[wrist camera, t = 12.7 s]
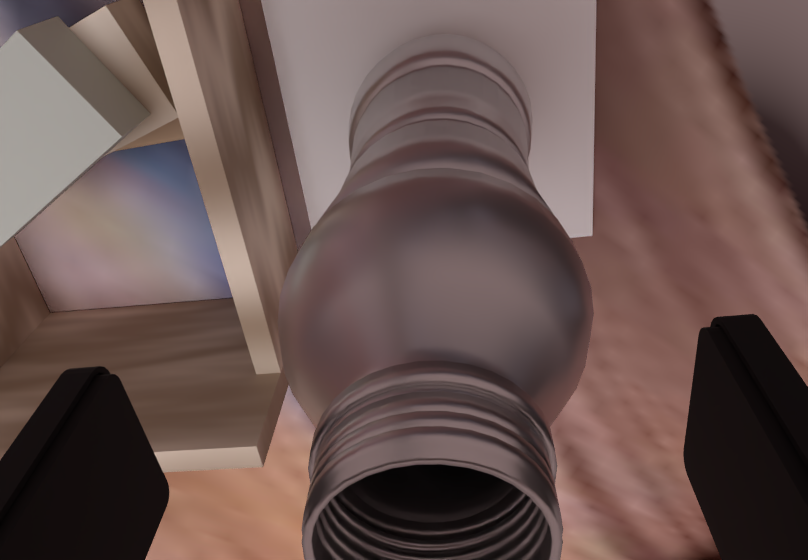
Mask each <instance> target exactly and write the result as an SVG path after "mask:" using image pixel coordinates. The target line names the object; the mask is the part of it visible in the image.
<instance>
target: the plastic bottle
mask: <svg viewBox="0 0 808 560" xmlns="http://www.w3.org/2000/svg"><path fill="white" fill-rule="evenodd" d="M532 123H533V117H532V109H531V101H530V98H529V95H528V93H527V90H526V87H525V84H524V82H523V81H522V79H521V77H520V76H519V74H518V73H517V71H516V69H515V68H514V67H513V66H512V65H511V64H510V63H509V62H508V61H507V60H506V59H505V58H504V57H503V56H502V55H501V54H499V53H498V52H496V51H495V50H493V49H492V48H490V47H489V46H487V45H486V44H484V43H482V42H480V41H477V40H474V39H472V38H469V37H467V36H461V35H455V34H434V35H429V36H425V37H421V38H417V39H414V40H412V41H410V42H408V43H406V44H404V45H402V46H400V47H398V48H397V49H395V50H393V51H392V52H391V53H390V54H388V55H387V56H386V57H384V58H383V59H382V60H380V61H379V62H378V63H377V64H376V66H375V67H374V68H373V69H372V70H371V71H370V72H369V74H368V75H367V76H366V77H365V79H364V81H363V83H362V84H361V86H360V88H359V89H358V91H357V93H356V96H355V99H354V102H353V105H352V108H351V113H350V121H349V138H348V141H349V155H350V161H351V164H350V171H349V174H348V176H347V177H346V179H345V182H344V184H343V186H342V188H341V190H340V192H339V194H338V195H337V196H336V198H335V199H334V200H333V202H332V203H331V204H330V206H329V207H328V208H327V210H326V211H325V212H324V214H323V215H322V216H321V218H320V219H319V220H318V222H317V224H316V225H315V226H314V227H313V228H312V230H311V231H310V233H309V235H308V236H307V238H306V240H305V241H304V243H303V245H302V246H301V248H300V250H299V251H298V253H297V255H296V257H295V259H294V261H293V263H292V265H291V266H290V268H289V270H288V273H287V276H286V279H285V282H284V285H283V288H282V291H281V294H280V300H279V312H278V330H279V339H280V349H281V355H282V362H283V369H284V373H285V376H286V378H287V381H288V383H289V386H290V388H291V391H292V393H293V395H294V397H295V398H296V400H297V401H298V403H299V404H300V406H301V407H302V409H303V410H304V412H305V413H306V414H307V416H308V417H309V419H310V420H311V422H312V423H313V425H314V426H315V428H316V430H315V433H314V437H313V442H312V447H311V451H310V459H309V466H308V470H309V477H310V487H309V492H308V497H307V502H306V506H305V510H304V516H303V524H302V535H303V537H302V547H303V553H304V559H305V560H560V557H561V550H562V544H563V541H562V533H563V526H562V519H561V513H560V508H559V503H558V499H557V493H556V488H555V479H556V471H557V462H556V455H555V448H554V444H553V439H552V434H551V429H550V426H551V425H552V423H553V422H554V421H555V419H556V418H557V416H558V415H559V414H560V412H561V411H562V409H563V408H564V406H565V405H566V403H567V402H568V400H569V399H570V397H571V396H572V394H573V393H574V391H575V390H576V388H577V385H578V383H579V380H580V378H581V375H582V373H583V370H584V368H585V364H586V359H587V353H588V347H589V342H590V335H591V328H592V321H593V314H594V312H593V302H592V291H591V285H590V283H589V280H588V277H587V274H586V271H585V269H584V266H583V263H582V260H581V259H580V257H579V255H578V253H577V251H576V249H575V246H574V244H573V242H572V240H571V239H570V237H569V236H568V234H567V233H566V231H565V229H564V228H563V226H562V225H561V223H560V222H559V220H558V219H557V218H556V217H555V215H554V214H553V212H552V211H551V209H550V208H549V207H548V205H547V204H546V202H545V201H544V199H543V198H542V197H541V195H540V194H539V192H538V191H537V189H536V186H535V184H534V181H533V179H532V176H531V174H530V171H529V164H528V157H529V153H530V150H531V138H532Z"/></svg>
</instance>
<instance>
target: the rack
mask: <svg viewBox="0 0 808 560" xmlns="http://www.w3.org/2000/svg"><path fill="white" fill-rule="evenodd" d="M143 3H144V6H145V9H146V13H147V16H148V19H149V23H150V26H151V29H152V32H153V36H154V39H155V42H156V46H157V49H158V52H159V56H160V59H161V62H162V65H163V69H164V72H165V75H166V79H167V82H168V85H169V88H170V92H171V95H172V98H173V102H174V105H175V108H176V112H177V115H178V118H179V121H180V125H181V128H182V131H183V135H184V138H185V141H186V145H187V148H188V151H189V154H190V158H191V161H192V164H193V168H194V171H195V174H196V178H197V181H198V184H199V187H200V191H201V194H202V197H203V201H204V204H205V207H206V210H207V214H208V217H209V220H210V224H211V227H212V230H213V234H214V237H215V240H216V243H217V247H218V250H219V253H220V257H221V260H222V263H223V267H224V270H225V273H226V276H227V280H228V283H229V286H230V290H231V293H232V296H233V298H228V299H216V300H203V301H191V302H179V303H167V304H154V305H142V306H130V307H117V308H105V309H93V310H80V311H68V312H56V313H50V312H49V310H48V308H47V306H46V304H45V302H44V299H43V297H42V295H41V293H40V291H39V289H38V287H37V285H36V283H35V280H34V278H33V276H32V274H31V272H30V270H29V268H28V266H27V264H26V261H25V259H24V257H23V255H22V253H21V251H20V249H19V247H18V245H17V242H16V240H15V238H14V237H13V238H12V239H10V240H9V241H8V242H7V243H5V244H4V245H3V246H2V247H1V248H0V460H1V458H2V457H3V455H4V454H5V453H6V451H7V450H8V448H9V447H10V446H11V444H12V443H13V441H14V440H15V439H16V437H17V436H18V434H19V433H20V431H21V430H22V429H23V427H24V426H25V424H26V423H27V422H28V420H29V419H30V417H31V416H32V415H33V413H34V412H35V410H36V409H37V407H38V406H39V405H40V403H41V402H42V400H43V399H44V398H45V396H46V395H47V393H48V392H49V391H50V389H51V388H52V386H53V385H54V384H55V382H56V381H57V379H58V378H59V376H60V375H61V374H62V373H63V372H64V371H65V370H67V369H70V368H83V367H95V366H102V367H105V368H106V369H108V370H109V372H110V374H116V375H117V376H118V377H119V378H120V380H121V382H122V384H123V386H124V389H125V391H126V393H127V395H128V397H129V399H130V402H131V404H132V406H133V408H134V410H135V412H136V415H137V417H138V419H139V421H140V423H141V425H142V428H143V430H144V432H145V434H146V436H147V438H148V441H149V443H150V445H151V447H152V449H153V451H154V454H155V456H156V458H157V460H158V462H159V464H160V467H161V469H162V471H163V472H178V471H197V470H216V469H235V468H254V467H263V466H264V462H265V459H266V456H267V453H268V450H269V446H270V443H271V440H272V437H273V433H274V430H275V427H276V424H277V420H278V417H279V414H280V411H281V407H282V404H283V401H284V398H285V394H286V391H287V388H288V385H289V383H288V381H287V378H286V376H285V373H284V369H283V362H282V355H281V349H280V339H279V330H278V312H279V300H280V294H281V291H282V288H283V285H284V282H285V279H286V276H287V273H288V270H289V268H290V266H291V265H292V263H293V261H294V259H295V257H296V255H297V253H298V250H297V246H296V242H295V237H294V233H293V229H292V225H291V220H290V216H289V212H288V208H287V203H286V199H285V195H284V191H283V186H282V182H281V178H280V174H279V169H278V165H277V161H276V157H275V152H274V148H273V144H272V140H271V135H270V131H269V127H268V123H267V119H266V114H265V110H264V106H263V102H262V97H261V93H260V89H259V85H258V80H257V76H256V72H255V68H254V63H253V59H252V55H251V51H250V46H249V42H248V38H247V34H246V29H245V25H244V21H243V17H242V12H241V8H240V4H239V0H143Z"/></svg>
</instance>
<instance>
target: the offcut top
mask: <svg viewBox="0 0 808 560" xmlns="http://www.w3.org/2000/svg"><path fill="white" fill-rule="evenodd" d="M149 115H150V113H149V111H148V110H147V109H146V108H145V107H144V106H143V105H142V104H141V103H140V102H139V101H138V100H137V99H136V98H135V97H134V96H133V95H132V94H131V93H130V92H129V91H128V89H127V88H126V87H125V86H124V85H123V84H122V83H121V82H120V81H119V80H118V79H117V78H116V77H115V76H114V75H113V74H112V73H111V72H110V71H109V70H108V68H107V67H106V66H105V65H104V64H103V63H102V62H101V61H100V60H99V59H98V58H97V57H96V56H95V55H94V54H93V53H92V52H91V51H90V50H89V49H88V48H87V46H86V45H85V44H84V43H83V42H82V41H81V40H80V39H79V38H78V37H77V36H76V35H75V34H74V33H73V32H72V31H71V30H70V29H69V28H68V27H67V26H66V24H65V23H64V22H63V21H62V20H61V19H60V18H59V17H58V16H57V17H54V18H51V19H48V20H45V21H42V22H40V23H37V24H34V25H31V26H28V27H25V28H22V29H20V30H17V31H16V32H15V33H14V34H13V35H12V36H11V37H10V38H9V39H8V41H7V42H6V43H5V44H4V45H3V46H2V47H1V48H0V248H1V247H2V246H3V245H4V244H5V243H7V242H8V241H9V240H10V239H12V238H13V237H14V236H15V235H16V234H18V233H19V232H20V231H21V230H22V229H24V228H25V227H26V226H27V225H28V224H29V223H30V222H31V221H32V220H34V219H35V218H36V217H37V216H38V215H39V214H40V213H41V212H42V211H44V210H45V209H46V208H47V207H48V206H49V205H50V204H51V203H52V202H54V201H55V200H56V199H57V198H58V197H59V196H60V195H61V194H62V193H64V192H65V191H66V190H67V189H68V188H69V187H70V186H71V185H72V184H74V183H75V182H76V181H77V180H78V179H79V178H80V177H81V176H82V175H84V174H85V173H86V172H87V171H88V170H89V169H90V168H91V167H92V166H94V165H95V164H96V163H97V162H98V161H99V160H100V159H101V158H102V157H104V156H105V155H106V154H107V153H108V152H109V151H110V150H111V149H112V148H114V147H115V146H116V145H117V144H118V143H119V142H120V141H121V140H122V139H124V138H125V137H126V136H127V135H128V134H129V133H130V132H131V131H132V130H134V129H135V128H136V127H137V126H138V125H139V124H140V123H141V122H142V121H144V120H145V119H146V118H147V117H148V116H149Z"/></svg>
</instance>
